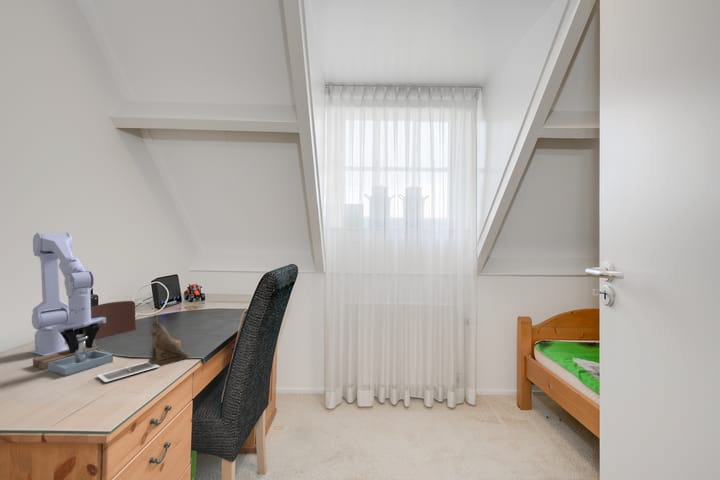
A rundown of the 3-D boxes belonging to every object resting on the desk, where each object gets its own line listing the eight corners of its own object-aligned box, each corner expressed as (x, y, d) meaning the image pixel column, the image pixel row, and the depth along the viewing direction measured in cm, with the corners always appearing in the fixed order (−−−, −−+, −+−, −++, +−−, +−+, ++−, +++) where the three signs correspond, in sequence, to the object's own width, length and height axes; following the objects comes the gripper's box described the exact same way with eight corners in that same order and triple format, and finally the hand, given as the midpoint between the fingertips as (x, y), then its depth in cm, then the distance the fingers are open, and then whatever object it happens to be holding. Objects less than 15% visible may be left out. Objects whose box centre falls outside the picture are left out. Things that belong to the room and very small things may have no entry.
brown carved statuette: (151, 374, 116) (137, 322, 113) (149, 368, 120) (135, 319, 117) (190, 358, 123) (177, 310, 120) (186, 354, 127) (174, 307, 124)
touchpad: (160, 369, 114) (160, 362, 114) (105, 385, 103) (105, 378, 102) (149, 364, 119) (149, 357, 119) (96, 379, 107) (96, 372, 107)
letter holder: (136, 330, 159) (135, 299, 159) (83, 342, 142) (83, 307, 142) (125, 327, 164) (124, 296, 164) (73, 338, 147) (72, 304, 147)
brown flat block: (33, 366, 116) (32, 358, 116) (87, 351, 131) (87, 344, 131) (44, 370, 113) (44, 362, 113) (99, 354, 128) (99, 347, 127)
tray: (47, 370, 113) (47, 362, 113) (95, 356, 125) (95, 349, 125) (65, 376, 108) (65, 368, 108) (112, 361, 120) (112, 354, 120)
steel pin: (69, 362, 116) (69, 336, 115) (84, 357, 120) (84, 333, 119) (76, 364, 114) (76, 339, 113) (91, 360, 118) (91, 335, 117)
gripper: (59, 314, 108) (61, 358, 108) (110, 305, 121) (111, 344, 121) (47, 312, 111) (49, 355, 111) (98, 303, 124) (99, 342, 124)
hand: (81, 349), depth 116 cm, fingers closed on steel pin, 4 cm apart
